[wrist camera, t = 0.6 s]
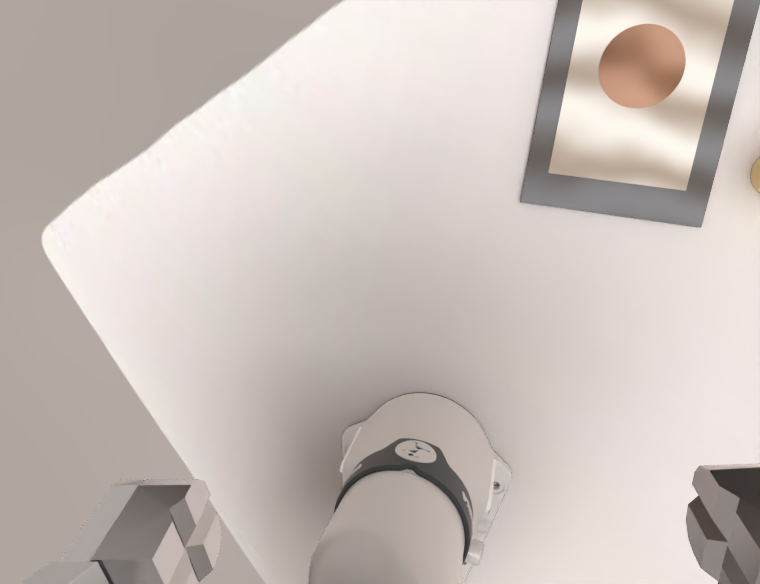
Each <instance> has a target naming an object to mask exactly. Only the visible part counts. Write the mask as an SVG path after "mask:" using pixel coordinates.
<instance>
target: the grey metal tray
mask: <svg viewBox="0 0 760 584" xmlns="http://www.w3.org/2000/svg"><path fill="white" fill-rule="evenodd" d="M759 5H760V0H559V2H558V7H557V13H556V18H555V23H554V28H553V34H552V39H551V44H550V49H549V55H548V60H547V65H546V70H545V76H544V81H543V86H542V91H541V97H540V102H539V107H538V112H537V117H536V123H535V128H534V133H533V138H532V144H531V149H530V154H529V159H528V165H527V170H526V175H525V180H524V186H523V191H522V196H521V201H520V202H525V203H532V204H539V205H546V206H553V207H560V208H567V209H574V210H581V211H588V212H595V213H602V214H609V215H616V216H623V217H631V218H638V219H645V220H652V221H659V222H666V223H673V224H680V225H687V226H694V227H701V226H702V222H703V219H704V215H705V211H706V207H707V203H708V199H709V196H710V192H711V188H712V184H713V180H714V177H715V173H716V169H717V165H718V161H719V157H720V154H721V150H722V146H723V142H724V138H725V135H726V131H727V127H728V123H729V119H730V116H731V112H732V108H733V104H734V100H735V96H736V93H737V89H738V85H739V81H740V77H741V74H742V70H743V66H744V62H745V58H746V54H747V51H748V47H749V43H750V39H751V35H752V32H753V28H754V24H755V20H756V16H757V12H758V9H759Z"/></svg>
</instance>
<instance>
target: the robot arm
mask: <svg viewBox="0 0 760 584" xmlns="http://www.w3.org/2000/svg"><path fill="white" fill-rule="evenodd" d="M342 450H343V461H342V463H341V466H340V472H341V473H342V484H343V486H342V488H341V490H340V493H339V496H338V499H337V502H336V506H335V511H334V515H333V517H332V518H331V520H330V522H329V524H328V525H327V527H326V529H325V531H324V533H323V534H322V536H321V538H320V540H319V542H318V543H317V545H316V547H315V549H314V552H313V555H312V558H311V563H310V568H309V584H461V583H463V582H464V581H465V580H466V578H467V576H468V574H469V572H470V569H471V567H472V565H475V566H476V565H477V566H478V564H479V562H480V560H481V557H482V553H483V549H484V544H483V541H484V539H485V537H486V534H487V532H488V530H489V528H490V526H491V523H492V521H493V519H494V517H495V515H496V512H497V510H498V508H499V506H500V504H501V502H502V499H503V497H504V495H505V493H506V491H507V488H508V486H509V484H510V481H511V477H512V472H511V469H510V467H509V466H508V465H507V464H506V462H505V461H504V460H503V459H502V458H500V457H499V456H498V455H497V454H496V453H495V452H494V451H493V449H492V448H491V446H490V444H489V441H488V439H487V437H486V435H485V433H484V431H483V429H482V428H481V426H480V425H479V423H478V422H477V421H476V419H475V418H474V417H473V416H472V415H471V414H470V413H469V412H468V411H467V410H465V409H464V408H463V407H461V406H460V405H458V404H457V403H455V402H453V401H451V400H449V399H446V398H444V397H441V396H437V395H433V394H426V393H413V394H406V395H402V396H399V397H396V398H394V399H392V400H390V401H388V402H386V403H385V404H383V405H382V406H381V407H380V408H379V409H377V410H376V411H375V413H374V414H373V415H372V416H371V417H369V418H368V419H367V420H365V421H363V422H360V423H357V424H354V425H352V426H350V427H348V428H347V429H346V430H345V431H344V434H343V436H342ZM494 482H497V483H499V484H500V485H499V486H494ZM692 485H693V486H694V488H695V490H696V492H697V493H698V495H699V496H697V497H696V498H695V499H694V500H693V501H692V502H690V503H689V504H688V509H687V516H686V524H687V532H688V538H689V541H690V544H691V547H692V550H693V553H694V555H695V557H696V559H697V561H698V563H699V565H700V567H701V568H702V569H703V570H704V571H705V572H707V573H708V574H709V575H711V576H712V577H713V578H715V579H716V580H717V581H718V584H760V463H759V464H731V465H704V466H699V467H698V468H697V469H696V471H695V472H694V477H693V482H692ZM209 497H210V493H209V490H208V488H207V485H206V483H205V481H202V480H198V479H192V480H185V479H183V480H182V479H181V480H180V479H179V480H178V479H175V480H173V479H172V480H171V479H167V480H165V479H164V480H163V479H158V480H157V479H155V480H154V479H151V480H149V479H147V480H120V481H118V482H117V483H115V484H114V485H112V486H111V488H110V489H109V490H108V492H107V493H106V495H105V496H104V498H103V499H102V500H101V502H100V503H99V505H98V506H97V508H96V509H95V510H94V512H93V513H92V515H91V516H90V518H89V519H88V520H87V522H86V523H85V525H84V526H83V527H82V529H81V530H80V532H79V533H78V535H77V536H76V537H75V539H74V540H73V542H72V543H71V545H70V546H69V547H68V549H67V550H66V552H65V553H64V555H63V556H62V558H61V559H60V560H59V562H50V563H48V564H46V565H45V566H44V567H42V568H41V569H39V570H38V571H36V572H35V573H34V574H32V575H31V576H30V577H28V578H27V579H25V580H24V581H23V582H21V583H19V584H200V581H201V580H202V579H203V578H204V577H205V576H206V575H207V574H209V573H210V572H211V571H212V570H213V568H214V566H215V563H216V560H217V558H218V555H219V551H220V543H221V537H222V535H221V524H220V520H219V517H218V514H217V512H215V511H214V510H213V509H212V508H210V507H209V506H208V505H206V503H207V501H208V499H209Z"/></svg>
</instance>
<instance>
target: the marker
mask: <svg viewBox="0 0 760 584" xmlns="http://www.w3.org/2000/svg"><path fill="white" fill-rule="evenodd" d="M750 179H751V183H752V185H753V187H754V188H755V189H756V190H757V191H758V192H759V193H760V157H759V158H758V159H757V161H756V162H755V163H754V165H753V167H752V169H751V173H750Z"/></svg>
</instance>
